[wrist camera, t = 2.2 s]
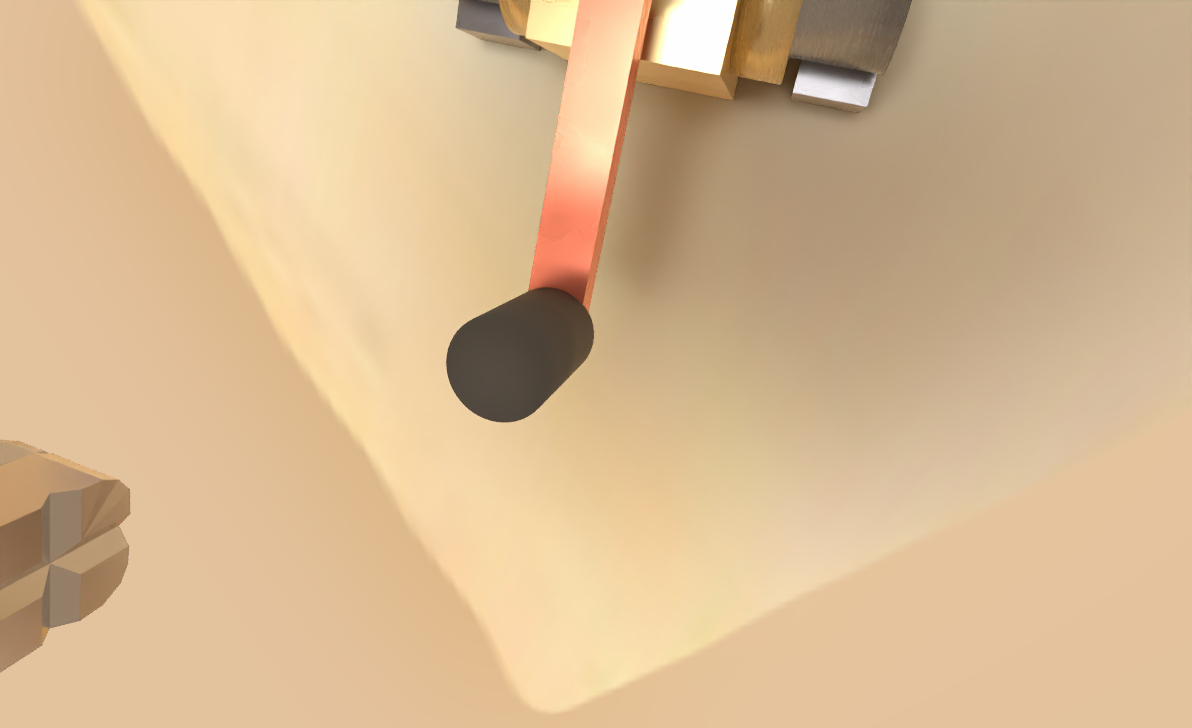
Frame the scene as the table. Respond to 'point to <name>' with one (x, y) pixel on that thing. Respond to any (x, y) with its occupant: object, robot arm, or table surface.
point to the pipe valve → (726, 42)
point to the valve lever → (560, 229)
